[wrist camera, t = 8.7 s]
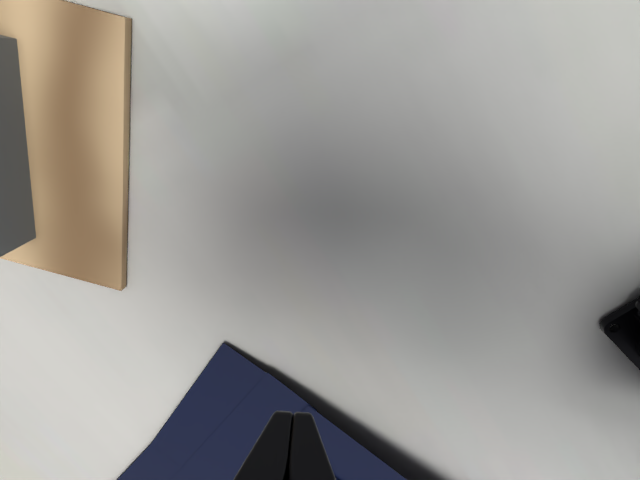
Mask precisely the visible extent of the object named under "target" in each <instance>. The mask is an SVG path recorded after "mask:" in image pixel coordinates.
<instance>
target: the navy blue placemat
mask: <svg viewBox="0 0 640 480" xmlns="http://www.w3.org/2000/svg"><path fill="white" fill-rule="evenodd" d="M275 411H290V412H292V413H293V414H294V413H295V412H306V413H311V414H312V416H313V418H314V421H315V423H316V426H317V429H318V432H319V434H320V437H321V440H322V443H323V445H324V448H325V451H326V454H327V456H328V459H329V462H330V465H331V467H332V470H333V473H334V476H335V478H336V480H407V479H405V478H404V477H403V476H401V475H400V474H399V473H397V472H396V471H395V470H393V469H392V468H391V467H389V466H388V465H387V464H385V463H384V462H383V461H381V460H380V459H379V458H377V457H376V456H375V455H374V454H372V453H371V452H370V451H368V450H367V449H366V448H364V447H363V446H362V445H360V444H359V443H358V442H356V441H355V440H354V439H352V438H351V437H350V436H348V435H347V434H346V433H344V432H343V431H342V430H340V429H339V428H338V427H336V426H335V425H334V424H332V423H331V422H330V421H329V420H327V419H326V418H325V417H323V416H322V415H321V414H319V413H318V412H317V410H316V409H315V408H313V407H312V406H311V405H309V404H308V403H307V402H306V401H304V400H303V399H302V398H300V397H299V396H298V395H296V394H295V393H294V392H293V391H291V390H290V389H289V388H287V387H286V386H285V385H284V384H282V383H281V382H280V381H278V380H277V379H276V378H274V377H273V376H272V375H271V374H269V373H266V372H264V371H263V370H261V369H260V368H259V367H257V366H256V365H254V364H253V363H251V362H250V361H249V360H247V359H246V358H244V357H243V356H242V355H240V354H239V353H237V352H236V351H234V350H233V349H232V348H230V347H229V346H227V345H226V344H225V343H223V344H222V345H221V347H220V348H219V350H218V351H217V352H216V354H215V355H214V357H213V358H212V359H211V361H210V362H209V363H208V365H207V366H206V368H205V369H204V370H203V372H202V373H201V375H200V376H199V377H198V379H197V380H196V382H195V383H194V384H193V386H192V387H191V389H190V390H189V391H188V393H187V394H186V396H185V397H184V398H183V400H182V401H181V403H180V404H179V405H178V407H177V408H176V409H175V411H174V412H173V414H172V415H171V416H170V418H169V419H168V421H167V422H166V423H165V425H164V426H163V428H162V429H161V430H160V432H159V433H158V435H157V436H156V437H155V439H154V440H153V442H152V443H151V444H150V446H149V447H148V448H147V449H146V450H145V451H144V452H143V453H142V454H141V455H140V456H139V457H138V458H137V459H136V460H135V461H134V462H133V464H132V465H131V466H130V467H129V468H128V469H127V470H126V471H125V472H124V473H123V474H122V475H121V476H120V477H119V478H118V479H117V480H233V479H234V478H235V476H236V474H237V473H238V471H239V469H240V468H241V466H242V464H243V463H244V461H245V459H246V458H247V456H248V455H249V453H250V451H251V450H252V448H253V446H254V445H255V443H256V441H257V440H258V438H259V436H260V435H261V433H262V431H263V430H264V428H265V426H266V425H267V423H268V421H269V420H270V418H271V416H272V415H273V413H274V412H275Z"/></svg>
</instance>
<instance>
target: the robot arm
mask: <svg viewBox="0 0 640 480" xmlns="http://www.w3.org/2000/svg"><path fill="white" fill-rule="evenodd" d="M614 324H615V325H614ZM612 325H614V326H613V327H611V328H610V326H612ZM600 328H601V329H602V331H603V332H604V333H605V334H606V335H607V336H608V337H609V338H610V339H611V340H612V341H613V342H614V343H615V344H616V345H617V347H618V348H619V349H620V350H621V351H622V352H623V353H624V354H625V355H626V356H627V357H628V358H629V359H630V360H631V361H632V362H633V363H634V364H635V365H636V366H637V367H638V368H639V369H640V297H639V298H637V299H636V300H634V301H632V302H631V303H629V304H627V305H625V306H624V307H622V308H620V309H619V310H617V311H615V312H613V313H612V314H610V315H608V316H607V317H605V318H604V319H602V320H601V322H600ZM233 480H336V478H335V476H334V473H333V470H332V467H331V465H330V462H329V459H328V456H327V454H326V451H325V448H324V445H323V443H322V440H321V437H320V434H319V432H318V429H317V426H316V423H315V421H314V418H313V416H312V414H311V413H306V412H295V413H294V414H293V413H292V412H290V411H275V412H274V413H273V415H272V416H271V418H270V420H269V421H268V423H267V425H266V426H265V428H264V430H263V431H262V433H261V435H260V436H259V438H258V440H257V441H256V443H255V445H254V446H253V448H252V450H251V451H250V453H249V455H248V456H247V458H246V459H245V461H244V463H243V464H242V466H241V468H240V469H239V471H238V473H237V474H236V476H235V478H234V479H233Z"/></svg>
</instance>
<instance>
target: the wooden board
mask: <svg viewBox="0 0 640 480" xmlns="http://www.w3.org/2000/svg"><path fill="white" fill-rule="evenodd" d="M131 25H132V19H130V18H127V17H123V16H119V15H116V14H112V13H108V12H105V11H101V10H97V9H93V8H90V7H86V6H82V5H79V4H75V3H71V2H67V1H64V0H0V35H4V36H8V37H12V38H15V39H17V46H18V56H19V67H20V77H21V87H22V97H23V108H24V118H25V128H26V138H27V149H28V159H29V169H30V179H31V190H32V200H33V210H34V220H35V231H36V238H35V239H33V240H31V241H29V242H27V243H26V244H24V245H22V246H20V247H18V248H16V249H14V250H13V251H11V252H9V253H7V254H5V255H3V256H1V257H0V258H2V259H5V260H9V261H13V262H16V263H20V264H24V265H27V266H31V267H35V268H39V269H42V270H46V271H50V272H53V273H57V274H61V275H65V276H68V277H72V278H76V279H79V280H83V281H87V282H90V283H94V284H98V285H102V286H105V287H109V288H113V289H116V290H120V291H122V290H123V289H124V288H125V287H126V275H127V225H128V175H129V125H130V75H131Z"/></svg>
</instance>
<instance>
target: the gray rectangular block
mask: <svg viewBox="0 0 640 480" xmlns="http://www.w3.org/2000/svg"><path fill="white" fill-rule="evenodd" d="M35 238H36V231H35V220H34V210H33V200H32V190H31V179H30V169H29V159H28V149H27V138H26V128H25V118H24V108H23V97H22V87H21V77H20V67H19V56H18V46H17V39H15V38H12V37H8V36H4V35H0V257H1V256H3V255H5V254H7V253H9V252H11V251H13V250H14V249H16V248H18V247H20V246H22V245H24V244H26V243H27V242H29V241H31V240H33V239H35Z"/></svg>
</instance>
